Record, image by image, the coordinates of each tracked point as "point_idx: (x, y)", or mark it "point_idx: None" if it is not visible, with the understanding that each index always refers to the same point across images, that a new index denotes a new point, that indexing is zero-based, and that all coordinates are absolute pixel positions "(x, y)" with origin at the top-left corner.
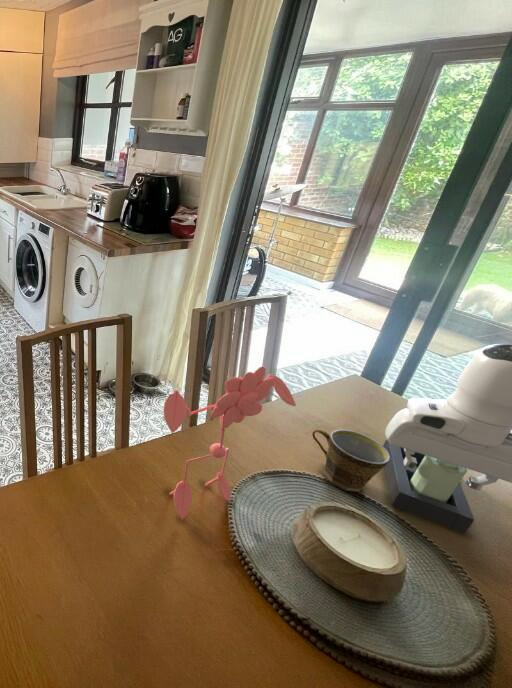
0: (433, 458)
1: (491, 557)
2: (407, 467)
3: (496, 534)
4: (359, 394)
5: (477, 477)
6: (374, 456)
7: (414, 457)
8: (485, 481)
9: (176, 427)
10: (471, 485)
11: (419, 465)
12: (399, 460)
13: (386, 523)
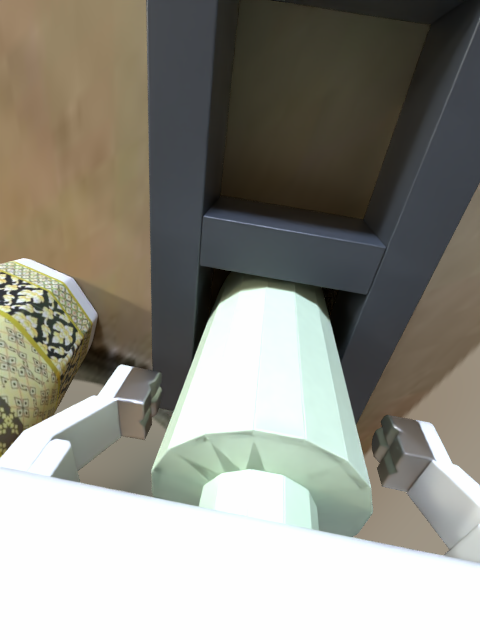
0: (188, 491)
1: (360, 434)
2: (210, 246)
3: (441, 363)
4: None
5: (436, 471)
6: (8, 361)
7: None
8: (436, 529)
9: None
10: (380, 461)
11: (183, 387)
12: (182, 197)
13: (154, 417)
